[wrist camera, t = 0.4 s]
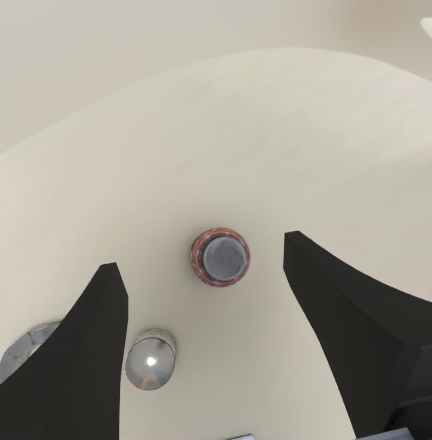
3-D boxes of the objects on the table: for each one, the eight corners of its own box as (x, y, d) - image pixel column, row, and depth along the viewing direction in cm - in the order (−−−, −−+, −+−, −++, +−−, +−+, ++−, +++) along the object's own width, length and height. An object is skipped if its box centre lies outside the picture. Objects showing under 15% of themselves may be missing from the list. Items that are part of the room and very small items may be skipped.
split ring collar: (111, 408, 37) (104, 422, 34) (17, 429, 36) (2, 445, 33) (97, 314, 37) (89, 319, 34) (5, 331, 36) (-11, 339, 33)
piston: (179, 366, 38) (178, 385, 33) (136, 375, 37) (129, 395, 32) (172, 324, 38) (170, 336, 33) (130, 332, 38) (121, 346, 33)
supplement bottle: (182, 268, 39) (180, 277, 28) (200, 223, 39) (205, 214, 28) (226, 285, 39) (242, 301, 28) (244, 241, 40) (266, 239, 29)
